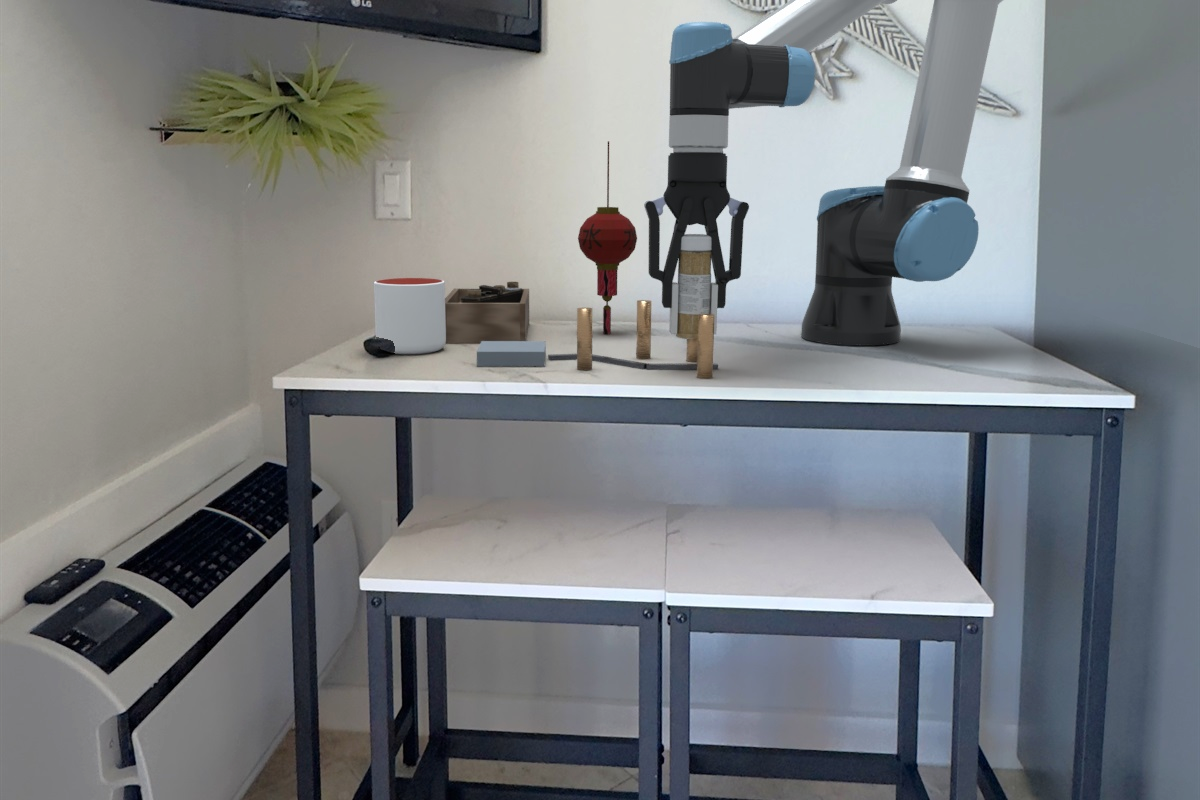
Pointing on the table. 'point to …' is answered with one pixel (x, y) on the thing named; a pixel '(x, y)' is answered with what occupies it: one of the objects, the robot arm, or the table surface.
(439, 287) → the cup
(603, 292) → the lantern
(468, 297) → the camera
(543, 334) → the table surface
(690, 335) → the sprinkles bottle
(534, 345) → the pad
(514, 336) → the camera corral
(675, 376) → the table surface
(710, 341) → the wire course
